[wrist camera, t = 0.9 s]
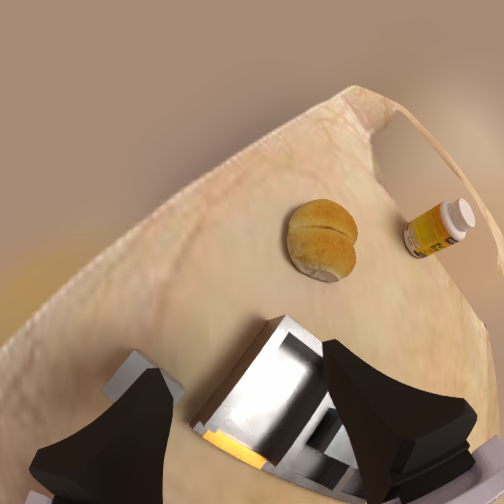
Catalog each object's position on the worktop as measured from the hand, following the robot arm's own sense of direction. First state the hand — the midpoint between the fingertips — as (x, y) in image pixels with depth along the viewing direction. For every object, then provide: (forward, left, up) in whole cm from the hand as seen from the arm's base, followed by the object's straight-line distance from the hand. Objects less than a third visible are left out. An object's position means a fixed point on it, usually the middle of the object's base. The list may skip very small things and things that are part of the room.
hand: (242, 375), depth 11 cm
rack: (+1, -13, -13) cm, 19 cm away
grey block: (-5, +3, -13) cm, 14 cm away
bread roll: (+17, -2, -13) cm, 22 cm away
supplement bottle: (+29, -14, -13) cm, 35 cm away
